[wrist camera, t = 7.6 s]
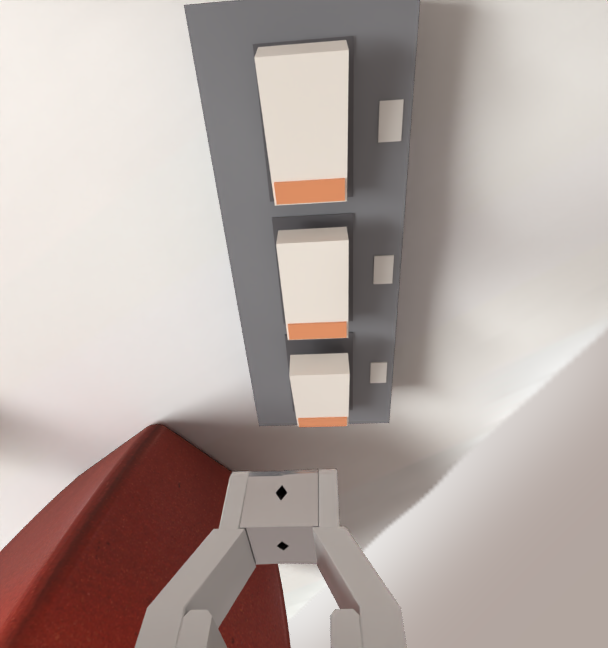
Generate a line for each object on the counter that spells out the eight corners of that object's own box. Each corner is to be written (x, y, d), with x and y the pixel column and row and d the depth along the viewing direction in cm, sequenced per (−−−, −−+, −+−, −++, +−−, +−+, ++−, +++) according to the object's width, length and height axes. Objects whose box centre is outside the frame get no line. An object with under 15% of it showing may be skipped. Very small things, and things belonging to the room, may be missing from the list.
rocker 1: (257, 47, 14) (254, 58, 13) (346, 39, 14) (348, 50, 13) (276, 189, 18) (274, 206, 17) (345, 185, 18) (347, 202, 17)
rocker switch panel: (174, -184, 15) (137, -251, 12) (415, -212, 14) (442, -291, 11) (264, 391, 30) (258, 427, 27) (382, 388, 30) (389, 423, 27)
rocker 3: (290, 354, 22) (289, 377, 21) (347, 352, 21) (349, 375, 20) (298, 407, 26) (297, 428, 25) (346, 406, 26) (348, 426, 25)
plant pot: (183, 559, 44) (119, 787, 30) (26, 475, 37) (-158, 726, 23) (311, 495, 37) (307, 754, 23) (149, 376, 30) (-4, 650, 15)
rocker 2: (278, 230, 18) (275, 245, 17) (346, 226, 18) (348, 241, 17) (289, 323, 22) (287, 341, 21) (346, 321, 22) (348, 339, 20)
